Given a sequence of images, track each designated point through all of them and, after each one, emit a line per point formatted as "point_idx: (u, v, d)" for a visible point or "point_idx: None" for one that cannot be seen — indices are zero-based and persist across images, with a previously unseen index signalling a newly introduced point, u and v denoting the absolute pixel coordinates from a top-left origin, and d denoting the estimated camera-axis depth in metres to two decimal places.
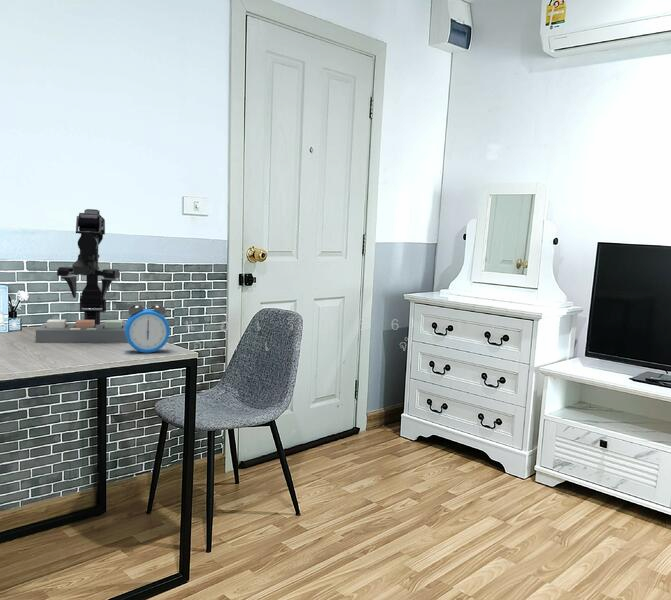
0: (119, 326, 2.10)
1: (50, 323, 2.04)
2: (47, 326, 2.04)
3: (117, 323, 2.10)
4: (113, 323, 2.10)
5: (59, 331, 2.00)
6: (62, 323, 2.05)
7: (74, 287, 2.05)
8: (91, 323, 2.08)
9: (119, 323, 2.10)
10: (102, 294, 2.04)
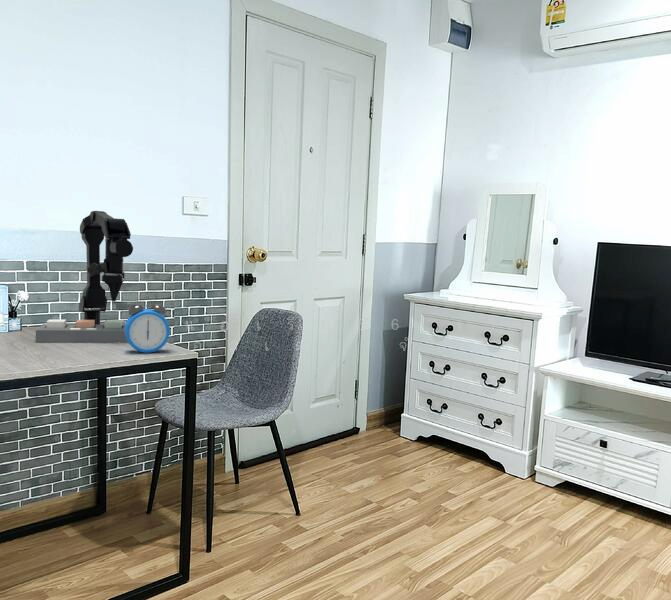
0: (119, 326, 2.10)
1: (50, 323, 2.04)
2: (47, 326, 2.04)
3: (117, 323, 2.10)
4: (113, 323, 2.10)
5: (59, 331, 2.00)
6: (62, 323, 2.05)
7: None
8: (91, 323, 2.08)
9: (119, 323, 2.10)
10: None
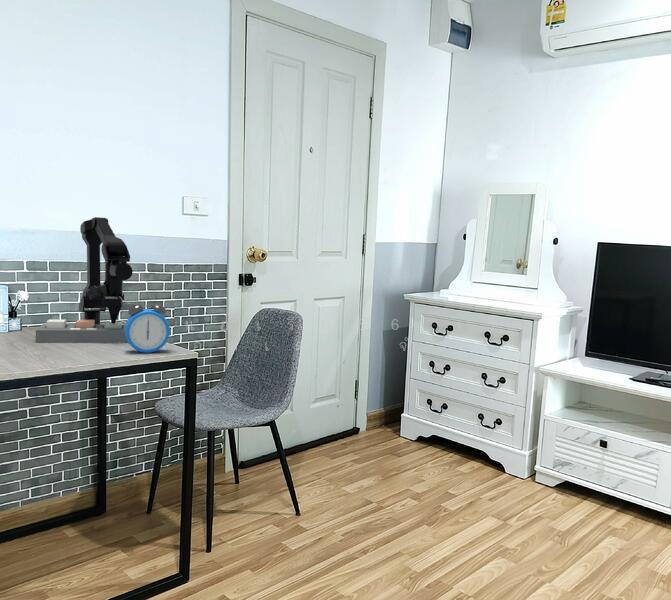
0: None
1: (50, 323, 2.04)
2: (47, 326, 2.04)
3: (117, 325, 2.10)
4: (113, 325, 2.10)
5: (59, 331, 2.00)
6: (62, 323, 2.05)
7: None
8: (91, 323, 2.08)
9: (119, 325, 2.10)
10: None
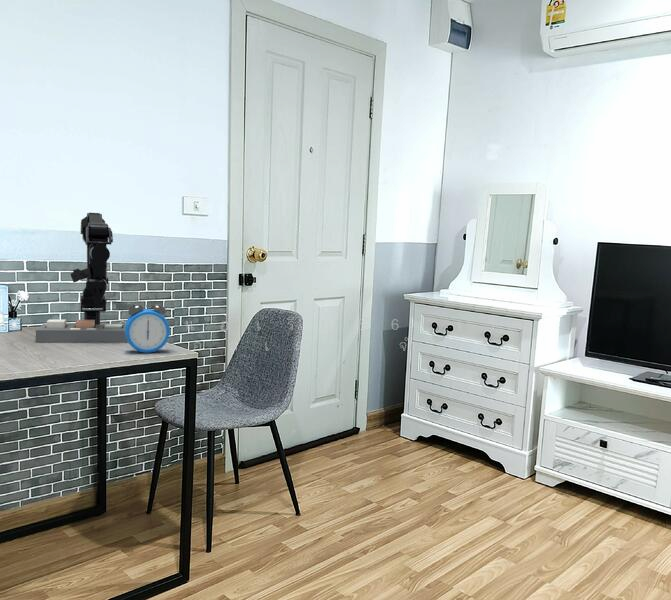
0: None
1: (50, 323, 2.04)
2: (47, 326, 2.04)
3: (117, 327, 2.10)
4: (113, 327, 2.10)
5: (59, 331, 2.00)
6: (62, 323, 2.05)
7: None
8: (91, 323, 2.08)
9: (119, 327, 2.10)
10: (94, 302, 2.09)
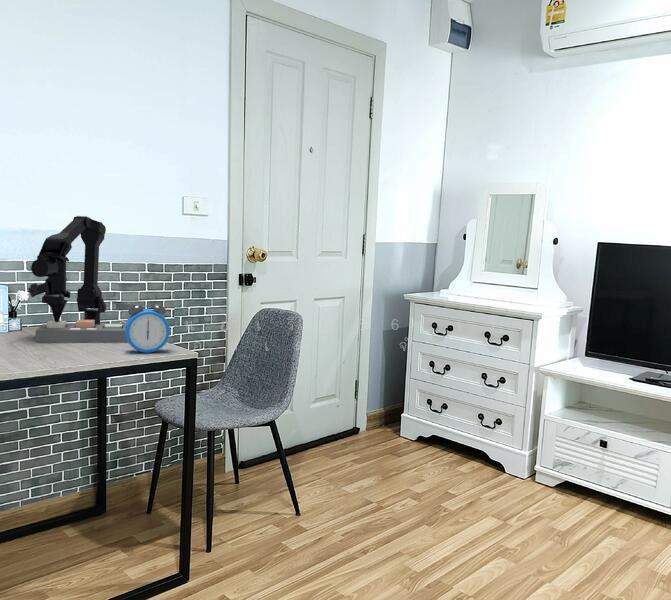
0: None
1: (50, 324, 2.04)
2: (47, 327, 2.04)
3: (117, 327, 2.10)
4: (113, 327, 2.10)
5: (59, 331, 2.00)
6: (62, 324, 2.05)
7: None
8: (91, 323, 2.08)
9: (119, 327, 2.10)
10: (53, 316, 2.06)
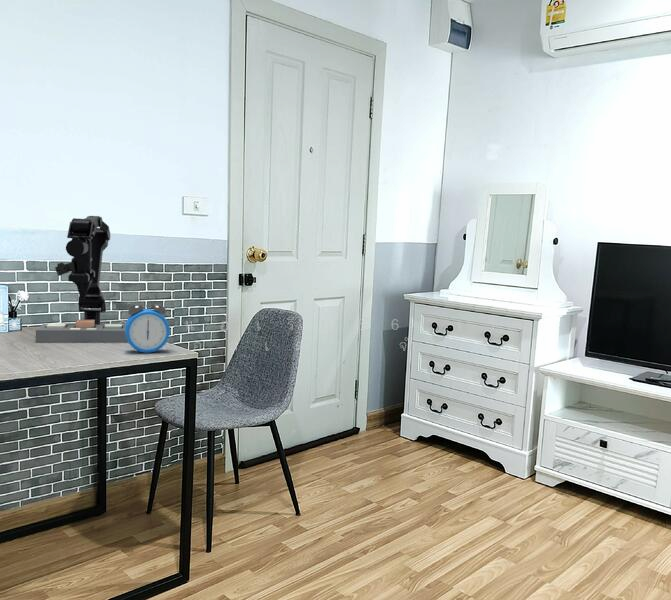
0: None
1: (50, 327, 2.04)
2: None
3: (117, 327, 2.10)
4: (113, 327, 2.10)
5: (59, 331, 2.00)
6: (62, 327, 2.05)
7: None
8: (91, 323, 2.08)
9: (119, 327, 2.10)
10: (79, 295, 2.15)
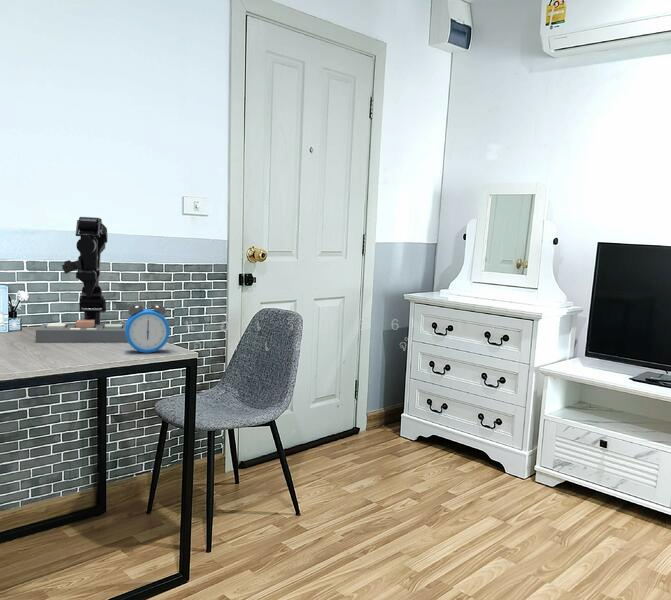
0: None
1: (50, 327, 2.04)
2: None
3: (117, 327, 2.10)
4: (113, 327, 2.10)
5: (59, 331, 2.00)
6: (62, 327, 2.05)
7: None
8: (91, 323, 2.08)
9: (119, 327, 2.10)
10: (85, 292, 2.17)
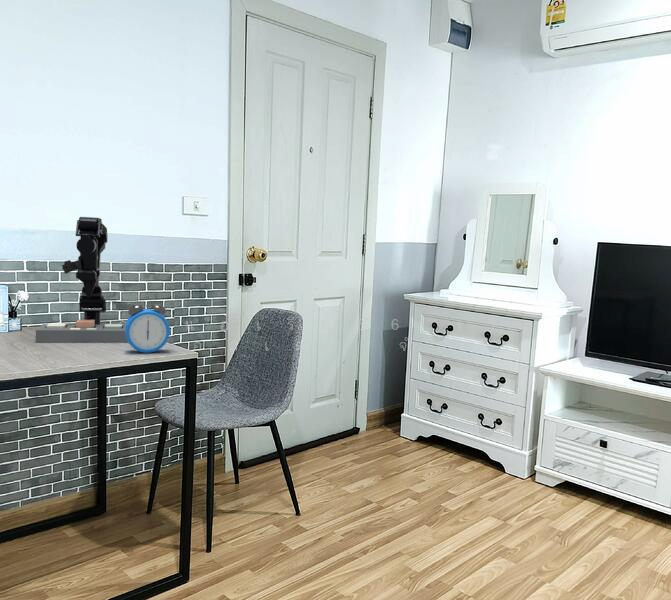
0: None
1: (50, 327, 2.04)
2: None
3: (117, 327, 2.10)
4: (113, 327, 2.10)
5: (59, 331, 2.00)
6: (62, 327, 2.05)
7: None
8: (91, 323, 2.08)
9: (119, 327, 2.10)
10: (85, 292, 2.17)
